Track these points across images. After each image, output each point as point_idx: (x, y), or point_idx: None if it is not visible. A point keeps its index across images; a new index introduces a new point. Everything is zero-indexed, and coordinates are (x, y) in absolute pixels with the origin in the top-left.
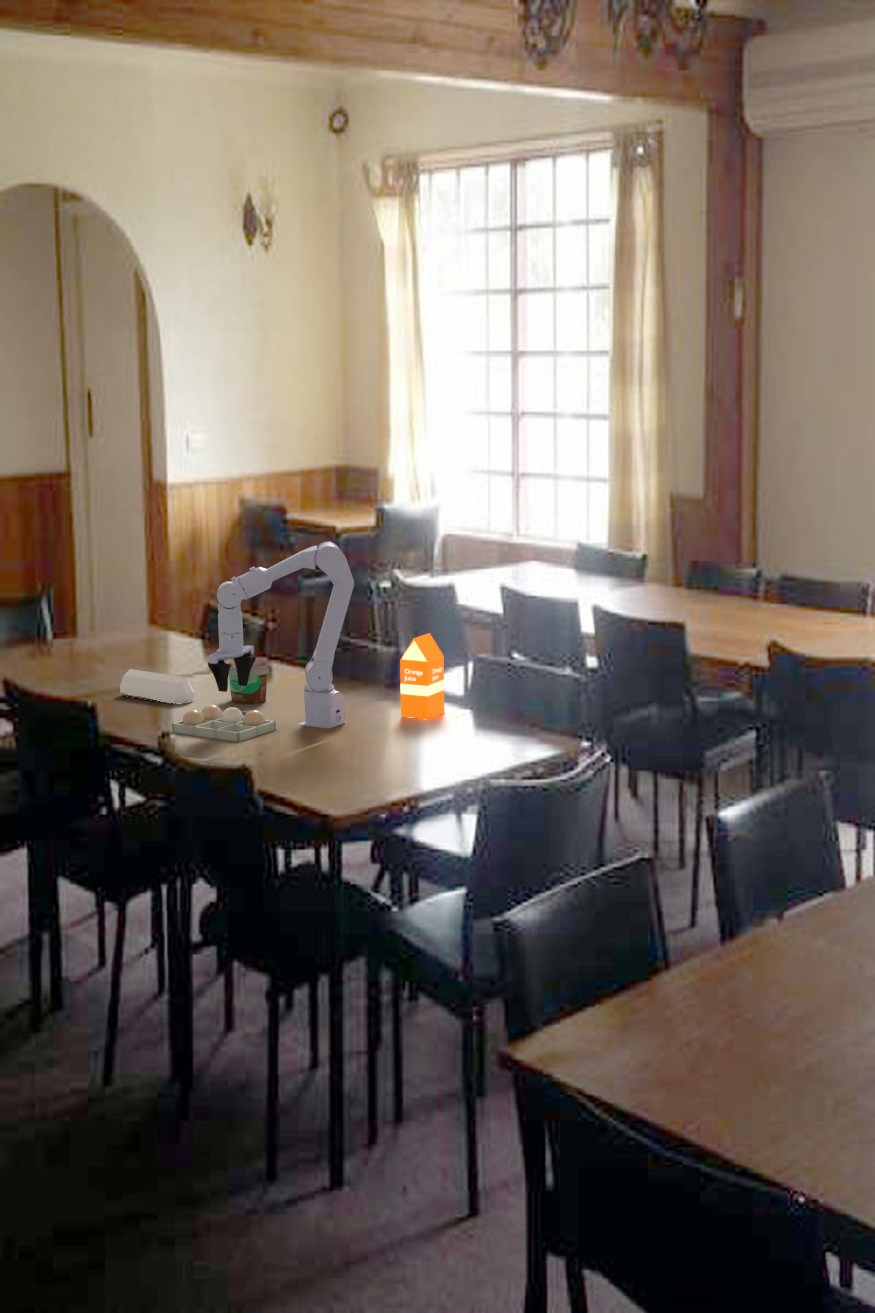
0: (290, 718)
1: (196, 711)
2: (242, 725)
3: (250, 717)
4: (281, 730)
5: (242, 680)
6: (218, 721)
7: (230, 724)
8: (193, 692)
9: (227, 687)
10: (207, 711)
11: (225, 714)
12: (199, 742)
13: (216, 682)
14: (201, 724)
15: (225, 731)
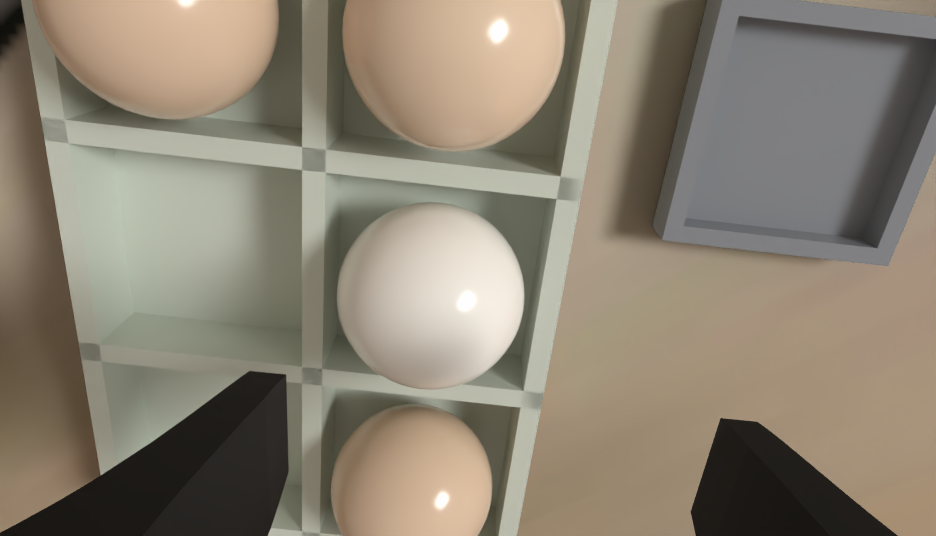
0: (917, 417)
1: (114, 71)
2: (302, 446)
3: (338, 523)
4: (562, 514)
5: (731, 529)
6: (318, 218)
7: (304, 343)
8: None
9: (264, 527)
10: (349, 64)
11: (342, 296)
12: (21, 234)
13: (159, 440)
14: (145, 145)
15: (95, 431)
